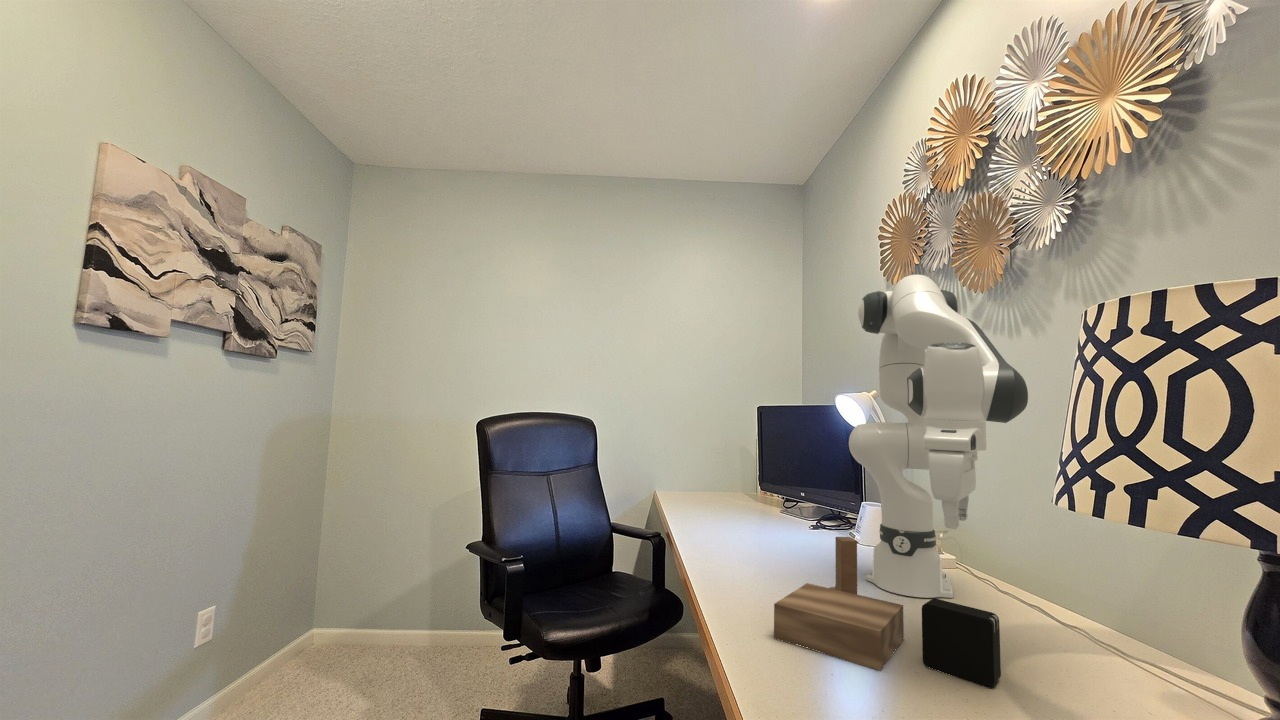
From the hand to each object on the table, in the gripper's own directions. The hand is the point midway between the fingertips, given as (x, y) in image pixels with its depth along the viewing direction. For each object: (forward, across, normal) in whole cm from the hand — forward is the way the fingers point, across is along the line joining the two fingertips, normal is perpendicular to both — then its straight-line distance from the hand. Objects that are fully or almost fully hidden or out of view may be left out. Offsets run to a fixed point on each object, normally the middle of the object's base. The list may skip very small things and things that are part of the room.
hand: (956, 523), depth 87 cm
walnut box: (+23, 0, -19) cm, 30 cm away
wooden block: (+23, -15, -23) cm, 36 cm away
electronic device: (+23, 0, 0) cm, 23 cm away
